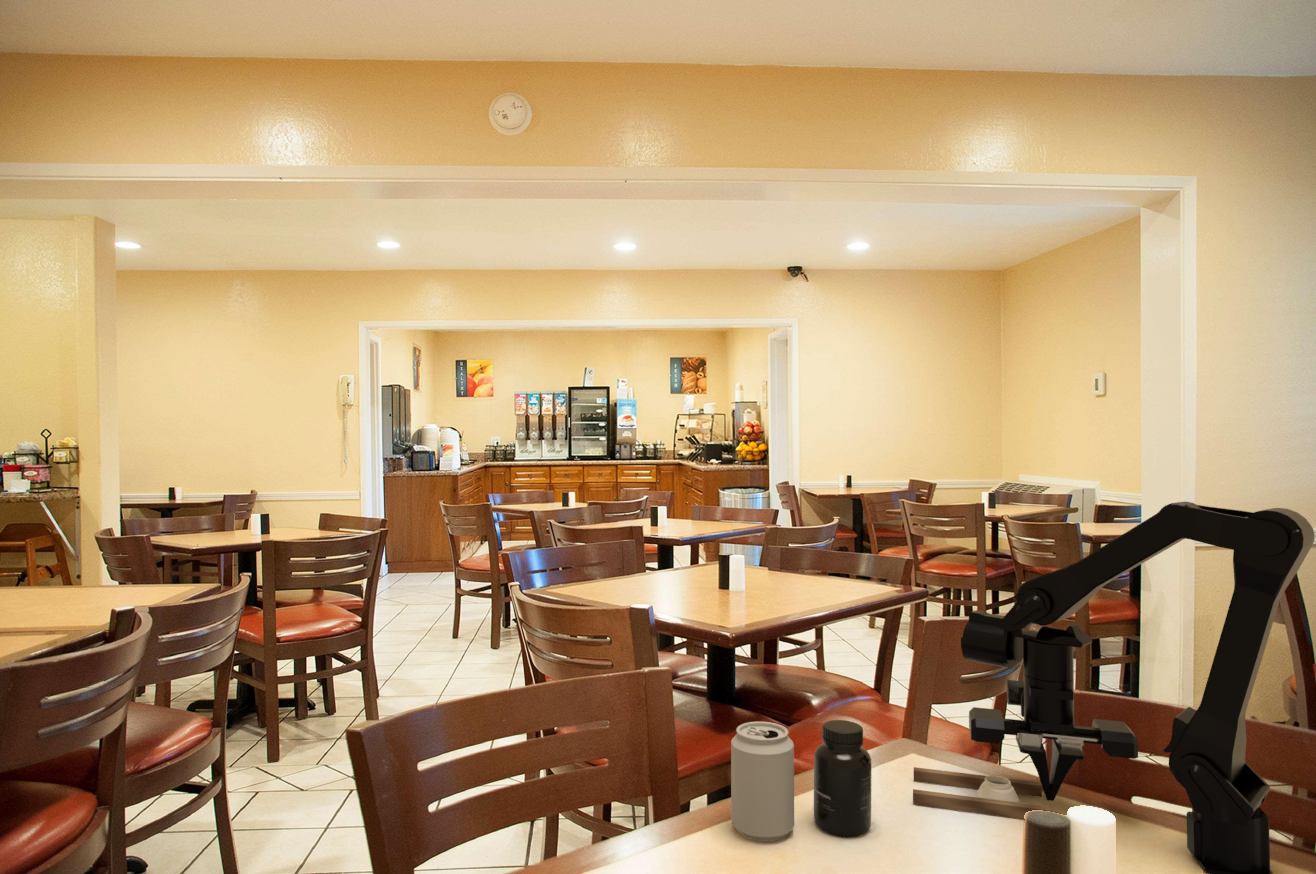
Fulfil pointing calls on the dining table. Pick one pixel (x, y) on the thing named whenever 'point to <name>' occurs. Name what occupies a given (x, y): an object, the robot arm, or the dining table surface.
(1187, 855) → the dining table surface
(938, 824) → the dining table surface
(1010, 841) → the dining table surface
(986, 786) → the lidless jar
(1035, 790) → the chute
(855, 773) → the supplement bottle
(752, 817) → the can
